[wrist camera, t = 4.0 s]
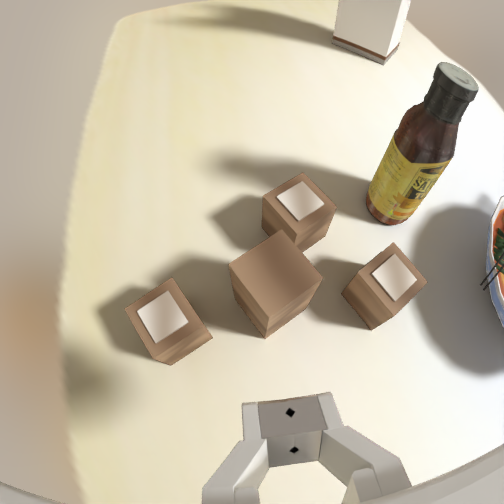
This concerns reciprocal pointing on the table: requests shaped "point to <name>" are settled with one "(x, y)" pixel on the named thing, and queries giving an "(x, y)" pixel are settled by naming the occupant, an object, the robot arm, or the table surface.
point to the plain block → (273, 282)
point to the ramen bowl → (496, 259)
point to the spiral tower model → (370, 27)
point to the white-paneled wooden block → (298, 211)
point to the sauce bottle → (421, 146)
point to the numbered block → (167, 323)
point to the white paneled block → (383, 286)
